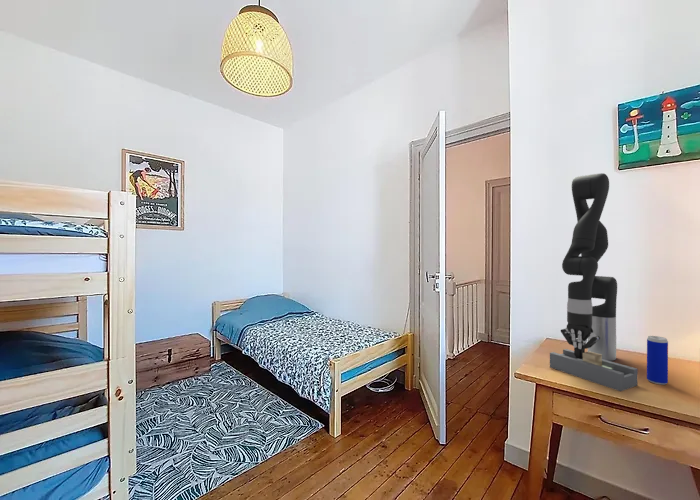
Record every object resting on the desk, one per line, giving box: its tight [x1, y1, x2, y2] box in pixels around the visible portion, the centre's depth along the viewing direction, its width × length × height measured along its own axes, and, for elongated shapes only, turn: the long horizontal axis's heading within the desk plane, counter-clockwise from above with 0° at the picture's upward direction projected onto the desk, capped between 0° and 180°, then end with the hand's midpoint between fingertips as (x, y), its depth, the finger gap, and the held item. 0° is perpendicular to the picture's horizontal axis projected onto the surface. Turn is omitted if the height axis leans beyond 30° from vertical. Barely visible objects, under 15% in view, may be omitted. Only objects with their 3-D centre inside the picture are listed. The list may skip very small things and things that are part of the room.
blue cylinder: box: [646, 335, 669, 386], centre depth 110 cm, size 5×5×15 cm
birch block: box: [583, 351, 602, 366], centre depth 116 cm, size 4×4×4 cm
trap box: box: [549, 348, 639, 392], centre depth 116 cm, size 10×23×6 cm, turn 25°
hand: (579, 358), depth 120 cm, fingers closed
